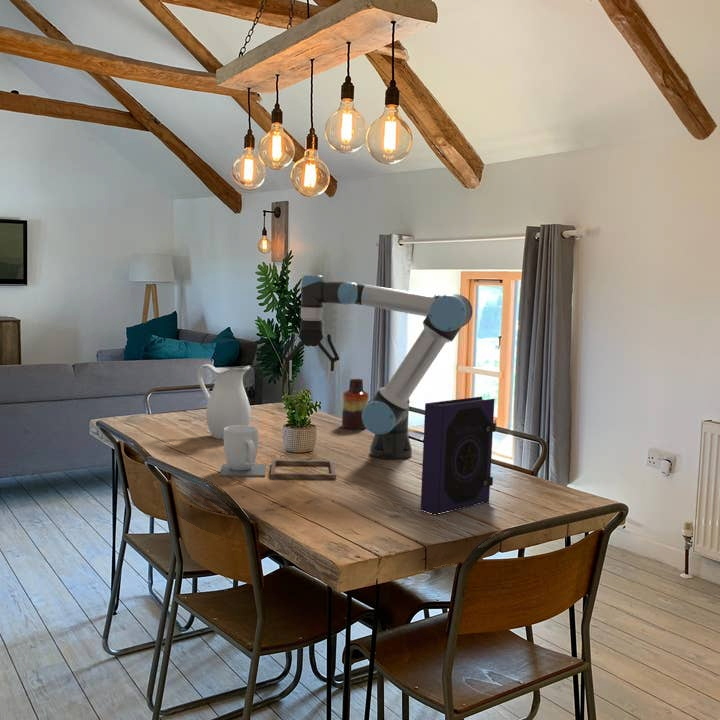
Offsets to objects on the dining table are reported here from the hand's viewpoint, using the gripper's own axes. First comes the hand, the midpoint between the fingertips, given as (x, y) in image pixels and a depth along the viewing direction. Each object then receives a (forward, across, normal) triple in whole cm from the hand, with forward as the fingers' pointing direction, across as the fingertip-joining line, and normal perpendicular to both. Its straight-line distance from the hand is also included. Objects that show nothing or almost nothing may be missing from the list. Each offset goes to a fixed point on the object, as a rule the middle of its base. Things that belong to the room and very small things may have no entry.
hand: (309, 380), depth 271 cm
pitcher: (+27, +33, -30) cm, 52 cm away
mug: (+26, +22, +24) cm, 42 cm away
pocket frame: (+27, +2, +24) cm, 36 cm away
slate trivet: (+27, +21, +24) cm, 42 cm away
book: (+27, -41, +60) cm, 78 cm away
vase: (+27, -21, -52) cm, 62 cm away
